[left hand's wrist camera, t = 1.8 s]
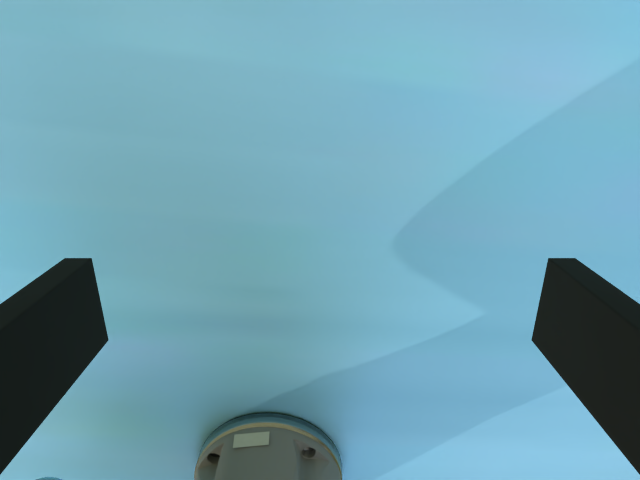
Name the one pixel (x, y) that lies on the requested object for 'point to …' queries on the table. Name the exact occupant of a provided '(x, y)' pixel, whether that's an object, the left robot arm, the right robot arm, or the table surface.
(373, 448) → the table surface
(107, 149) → the table surface
